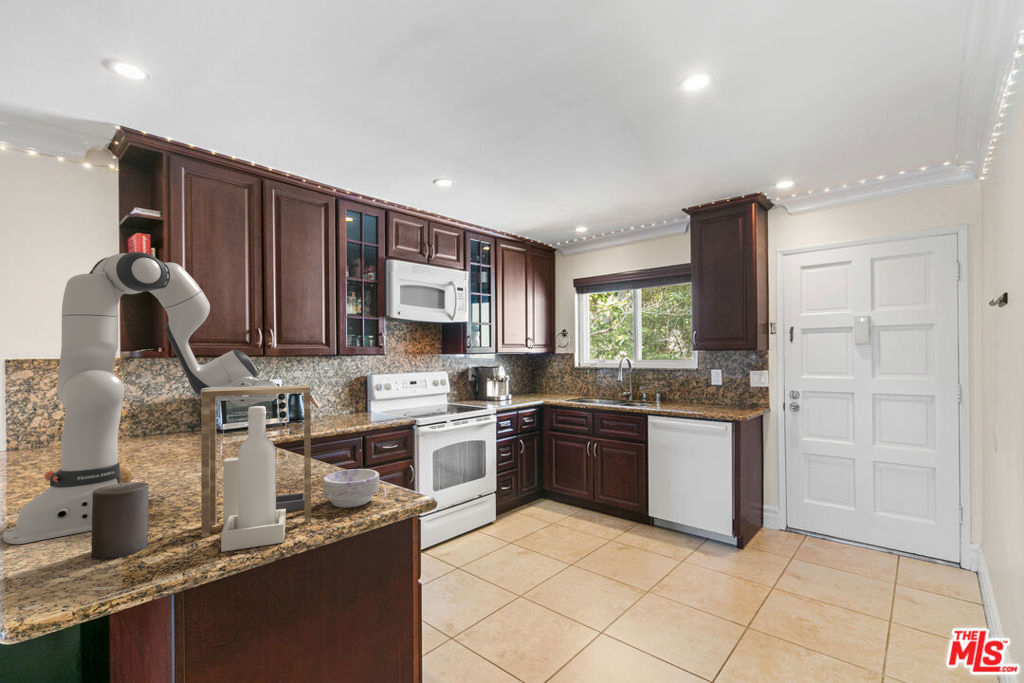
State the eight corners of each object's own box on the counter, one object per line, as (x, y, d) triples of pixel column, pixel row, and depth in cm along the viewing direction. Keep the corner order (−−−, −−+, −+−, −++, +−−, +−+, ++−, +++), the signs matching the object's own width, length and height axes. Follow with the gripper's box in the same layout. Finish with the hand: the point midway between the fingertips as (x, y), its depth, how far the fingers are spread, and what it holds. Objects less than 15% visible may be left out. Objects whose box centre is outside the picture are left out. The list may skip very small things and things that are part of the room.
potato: (104, 498, 145) (104, 471, 145) (81, 492, 151) (82, 467, 152) (141, 489, 154) (141, 464, 154) (118, 485, 160) (118, 460, 160)
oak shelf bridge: (209, 523, 121) (209, 389, 122) (310, 510, 130) (310, 385, 131) (201, 537, 112) (201, 391, 113) (311, 521, 121) (310, 387, 122)
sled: (226, 521, 122) (226, 457, 122) (287, 513, 127) (287, 452, 127) (210, 553, 102) (210, 477, 102) (283, 542, 107) (283, 470, 108)
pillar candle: (82, 563, 98) (84, 489, 99) (101, 546, 107) (102, 478, 108) (140, 555, 102) (142, 484, 103) (153, 539, 111) (155, 473, 112)
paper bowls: (357, 513, 127) (357, 483, 127) (310, 508, 131) (310, 479, 132) (390, 497, 141) (389, 470, 141) (346, 493, 146) (346, 467, 146)
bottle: (271, 541, 108) (270, 407, 109) (232, 545, 107) (232, 409, 107) (280, 528, 116) (279, 404, 117) (244, 532, 114) (243, 405, 115)
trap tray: (253, 507, 133) (253, 498, 134) (306, 500, 139) (306, 492, 139) (249, 516, 126) (249, 506, 126) (305, 508, 131) (305, 499, 131)
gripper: (205, 382, 147) (195, 384, 134) (279, 380, 155) (276, 382, 142) (205, 403, 147) (194, 407, 134) (279, 400, 155) (276, 403, 142)
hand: (237, 394), depth 138 cm, fingers closed
